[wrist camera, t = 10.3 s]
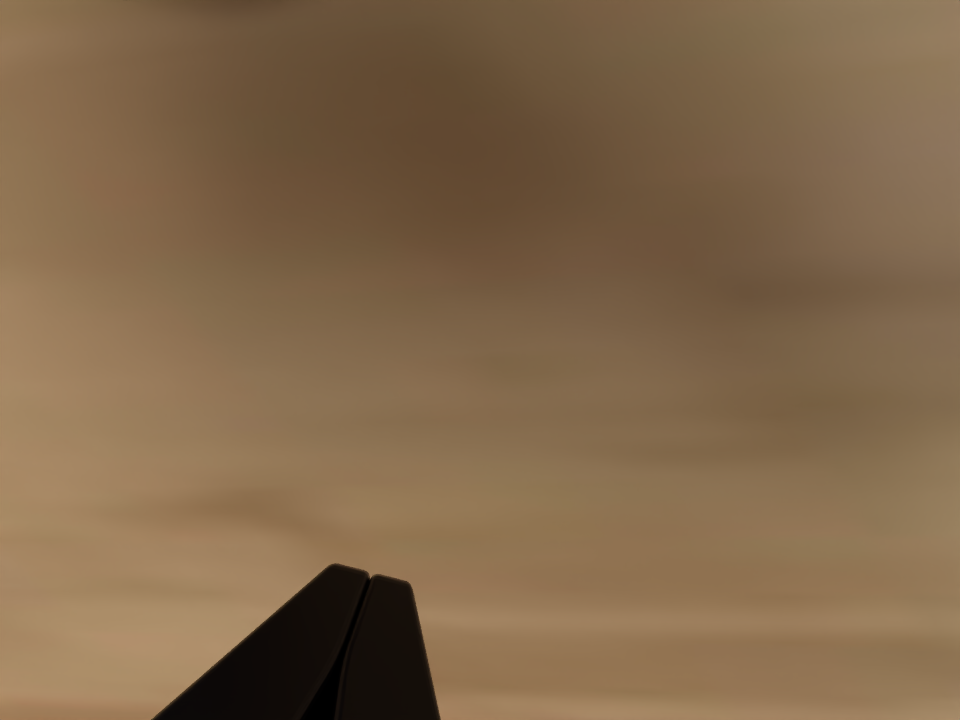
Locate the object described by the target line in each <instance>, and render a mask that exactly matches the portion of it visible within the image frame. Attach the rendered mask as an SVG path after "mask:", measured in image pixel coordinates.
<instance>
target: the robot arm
mask: <svg viewBox="0 0 960 720" xmlns="http://www.w3.org/2000/svg"><path fill="white" fill-rule="evenodd" d="M151 720H441V719H440V714H439V710H438V705H437V700H436V696H435V691H434V686H433V682H432V677H431V672H430V668H429V663H428V658H427V654H426V649H425V644H424V640H423V635H422V630H421V626H420V621H419V616H418V612H417V607H416V602H415V598H414V593H413V589H412V587H411V584H410V583H409V582H407V581H404V580H400V579H396V578H392V577H389V576H385V575H381V574H375V575H373V576H372V577H371V579H370V576H369V573H368V572H367V571H365V570H361V569H357V568H353V567H349V566H345V565H341V564H336V563H335V564H331V565H329V566H328V567H327V568H325V569H324V570H323V571H322V572H321V573H320V574H318V575H317V576H316V577H315V578H314V579H313V580H312V581H310V582H309V583H308V584H307V585H306V586H305V587H303V588H302V589H301V590H300V591H299V592H298V593H297V594H295V595H294V596H293V597H292V598H291V599H290V600H288V601H287V602H286V603H285V604H284V605H283V606H282V607H280V608H279V609H278V610H277V611H276V612H275V613H273V614H272V615H271V616H270V617H269V618H268V619H267V620H265V621H264V622H263V623H262V624H261V625H260V626H259V627H257V628H256V629H255V630H254V631H253V632H252V633H250V634H249V635H248V636H247V637H246V638H245V639H244V640H242V641H241V642H240V643H239V644H238V645H237V646H235V647H234V648H233V649H232V650H231V651H230V652H229V653H227V654H226V655H225V656H224V657H223V658H222V659H220V660H219V661H218V662H217V663H216V664H215V665H214V666H212V667H211V668H210V669H209V670H208V671H207V672H206V673H204V674H203V675H202V676H201V677H200V678H199V679H197V680H196V681H195V682H194V683H193V684H192V685H191V686H189V687H188V688H187V689H186V690H185V691H184V692H182V693H181V694H180V695H179V696H178V697H177V698H176V699H174V700H173V701H172V702H171V703H170V704H169V705H167V706H166V707H165V708H164V709H163V710H162V711H161V712H159V713H158V714H157V715H156V716H155V717H154V718H153V719H151Z"/></svg>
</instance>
